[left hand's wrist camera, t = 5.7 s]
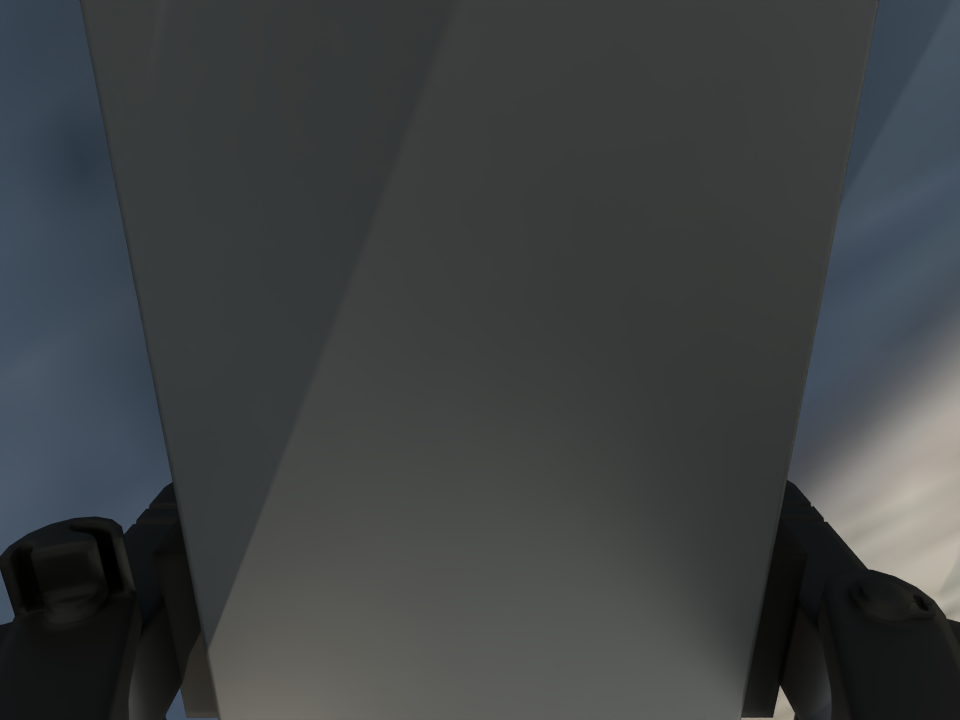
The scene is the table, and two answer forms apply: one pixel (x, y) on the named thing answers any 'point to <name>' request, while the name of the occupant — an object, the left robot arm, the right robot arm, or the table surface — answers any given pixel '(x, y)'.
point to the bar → (479, 334)
